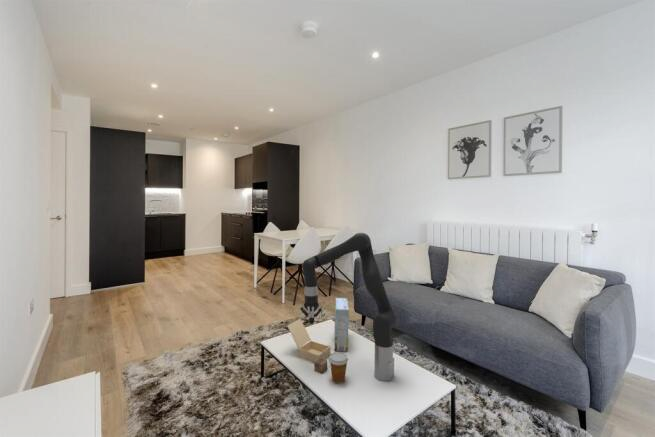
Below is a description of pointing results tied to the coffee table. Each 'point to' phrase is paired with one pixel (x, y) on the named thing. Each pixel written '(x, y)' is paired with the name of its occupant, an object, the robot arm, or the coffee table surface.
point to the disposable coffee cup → (338, 366)
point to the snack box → (341, 324)
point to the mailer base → (314, 351)
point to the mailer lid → (299, 333)
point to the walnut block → (320, 365)
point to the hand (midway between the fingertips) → (311, 323)
